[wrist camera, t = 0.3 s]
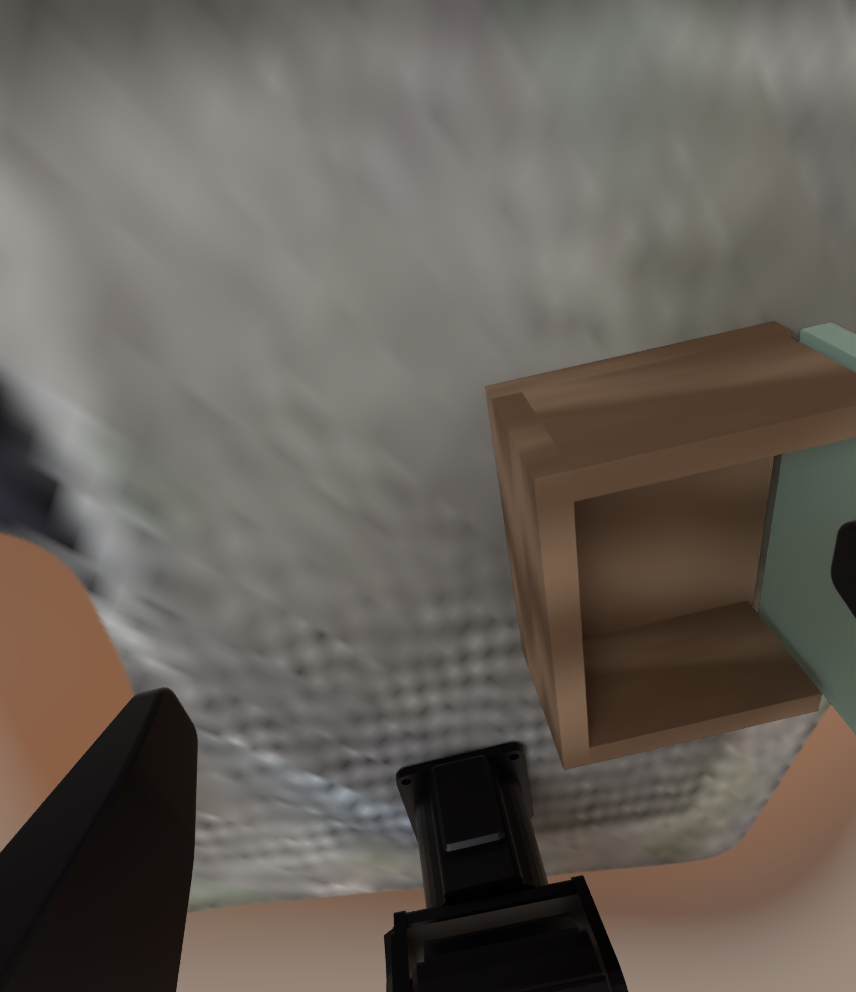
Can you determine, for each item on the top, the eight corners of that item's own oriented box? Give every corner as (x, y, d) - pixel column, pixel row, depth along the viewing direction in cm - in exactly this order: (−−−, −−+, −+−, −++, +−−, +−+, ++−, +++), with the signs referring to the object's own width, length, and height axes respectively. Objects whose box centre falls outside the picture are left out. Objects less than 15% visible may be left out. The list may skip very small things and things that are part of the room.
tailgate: (780, 609, 28) (899, 747, 22) (757, 614, 28) (871, 754, 22) (831, 322, 21) (1027, 415, 15) (801, 328, 21) (986, 425, 15)
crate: (738, 600, 29) (825, 709, 24) (522, 650, 29) (564, 769, 24) (774, 321, 22) (909, 393, 17) (485, 386, 21) (533, 478, 16)
